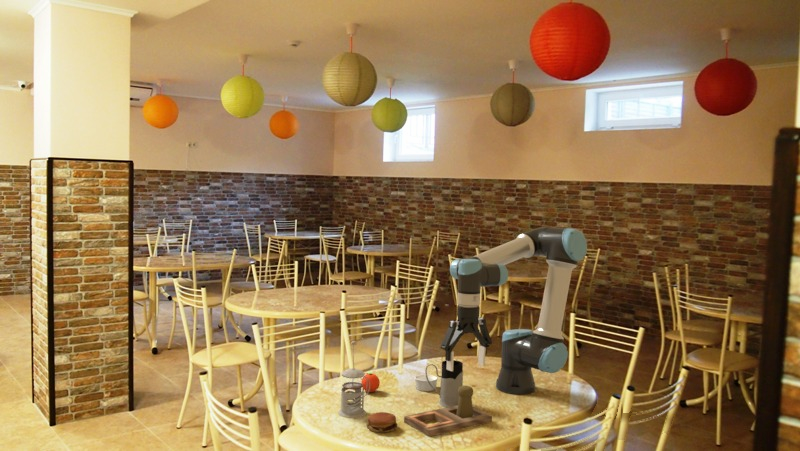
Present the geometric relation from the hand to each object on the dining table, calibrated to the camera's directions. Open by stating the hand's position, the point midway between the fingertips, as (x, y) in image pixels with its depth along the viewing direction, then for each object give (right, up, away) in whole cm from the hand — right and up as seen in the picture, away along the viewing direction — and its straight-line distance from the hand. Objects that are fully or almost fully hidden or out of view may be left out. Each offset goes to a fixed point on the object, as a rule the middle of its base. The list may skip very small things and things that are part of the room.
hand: (465, 367), depth 218 cm
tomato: (-34, -15, +27) cm, 46 cm away
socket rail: (-6, -18, -2) cm, 19 cm away
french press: (-38, -16, +4) cm, 42 cm away
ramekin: (-12, -15, +33) cm, 38 cm away
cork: (0, -18, +1) cm, 18 cm away
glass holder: (-6, -17, +16) cm, 24 cm away
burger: (-28, -18, -9) cm, 34 cm away
